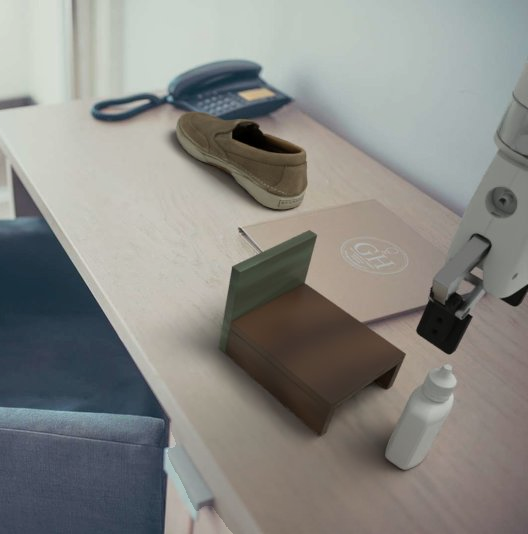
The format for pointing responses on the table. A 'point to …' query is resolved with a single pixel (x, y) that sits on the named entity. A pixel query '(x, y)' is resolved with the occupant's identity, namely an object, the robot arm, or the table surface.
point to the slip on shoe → (247, 157)
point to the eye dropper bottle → (422, 419)
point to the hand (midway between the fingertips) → (468, 318)
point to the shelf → (300, 335)
